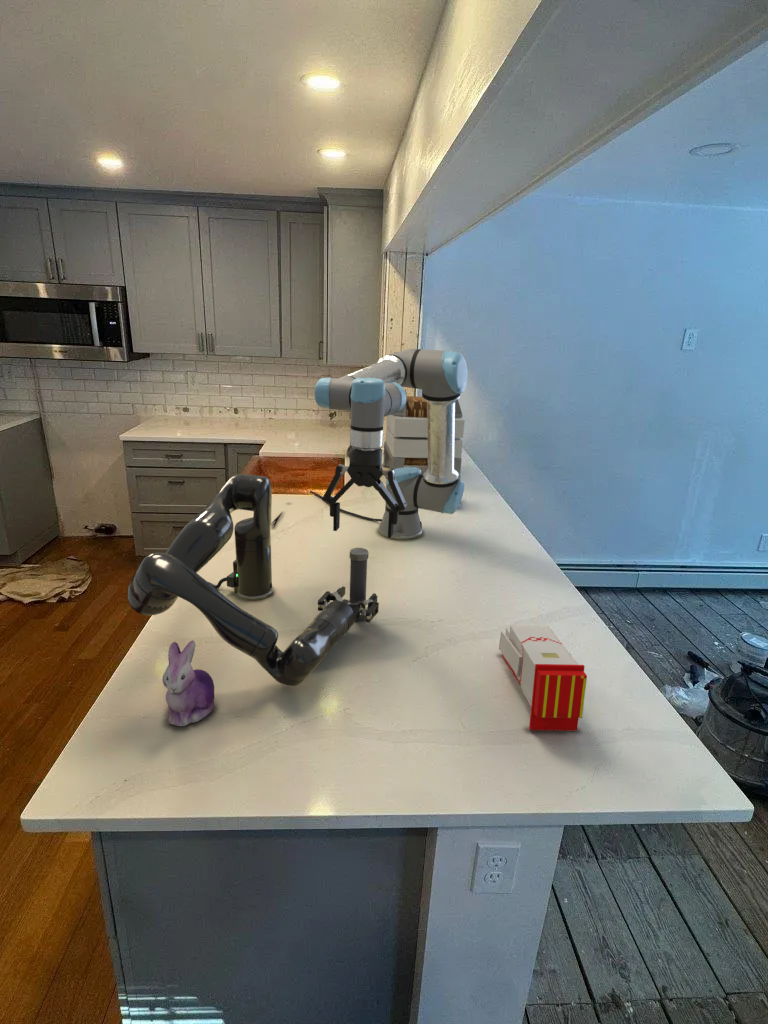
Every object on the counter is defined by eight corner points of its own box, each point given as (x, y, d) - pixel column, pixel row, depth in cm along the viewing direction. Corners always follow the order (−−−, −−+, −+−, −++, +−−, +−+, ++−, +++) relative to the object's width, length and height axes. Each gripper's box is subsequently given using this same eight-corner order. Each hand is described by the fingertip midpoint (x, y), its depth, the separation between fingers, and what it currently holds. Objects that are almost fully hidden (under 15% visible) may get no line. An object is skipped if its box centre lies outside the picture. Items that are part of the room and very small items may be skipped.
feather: (289, 506, 225) (292, 502, 225) (272, 529, 199) (275, 525, 198) (286, 503, 225) (288, 500, 225) (268, 527, 199) (271, 522, 198)
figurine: (169, 735, 103) (162, 665, 98) (162, 702, 111) (154, 636, 106) (222, 721, 107) (218, 653, 102) (211, 689, 115) (206, 625, 110)
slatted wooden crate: (382, 463, 289) (386, 382, 275) (445, 464, 293) (451, 384, 279) (390, 482, 257) (394, 392, 243) (460, 483, 261) (468, 394, 247)
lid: (352, 562, 137) (352, 555, 136) (347, 554, 141) (347, 548, 140) (370, 560, 139) (371, 554, 138) (364, 552, 143) (365, 546, 142)
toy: (545, 610, 133) (596, 671, 104) (540, 662, 136) (588, 737, 106) (494, 609, 133) (530, 670, 103) (490, 662, 135) (524, 736, 106)
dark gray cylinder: (351, 621, 143) (353, 557, 137) (347, 613, 147) (348, 550, 140) (367, 619, 144) (369, 555, 138) (362, 611, 148) (364, 548, 142)
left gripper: (304, 630, 133) (333, 600, 148) (360, 645, 129) (385, 612, 143) (304, 602, 131) (334, 574, 145) (361, 616, 126) (386, 585, 141)
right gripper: (422, 448, 132) (416, 533, 139) (319, 438, 137) (319, 521, 144) (416, 455, 125) (410, 544, 132) (309, 445, 130) (309, 531, 137)
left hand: (359, 593), depth 144 cm, fingers open, 8 cm apart
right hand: (363, 532), depth 138 cm, fingers open, 13 cm apart
